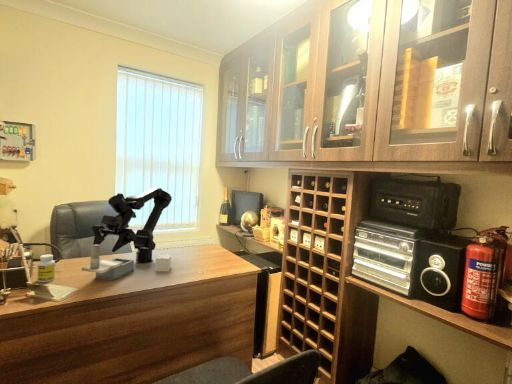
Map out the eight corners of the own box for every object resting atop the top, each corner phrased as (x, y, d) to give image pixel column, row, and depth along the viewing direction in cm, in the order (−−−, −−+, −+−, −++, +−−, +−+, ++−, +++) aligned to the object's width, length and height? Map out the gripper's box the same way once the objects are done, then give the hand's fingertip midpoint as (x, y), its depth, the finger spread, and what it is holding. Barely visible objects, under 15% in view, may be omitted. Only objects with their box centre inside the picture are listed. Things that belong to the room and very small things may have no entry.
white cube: (155, 271, 126) (155, 258, 126) (157, 267, 132) (158, 254, 132) (168, 271, 127) (169, 258, 126) (170, 267, 133) (171, 254, 132)
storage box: (116, 268, 126) (116, 257, 126) (133, 271, 124) (133, 260, 124) (95, 277, 114) (95, 265, 114) (114, 280, 113) (114, 268, 112)
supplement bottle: (35, 283, 106) (35, 258, 105) (39, 278, 111) (40, 254, 110) (52, 281, 108) (53, 257, 107) (56, 277, 113) (56, 253, 112)
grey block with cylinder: (105, 261, 119) (105, 238, 119) (123, 264, 117) (124, 240, 117) (81, 270, 107) (82, 245, 107) (101, 273, 105) (102, 247, 105)
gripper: (94, 206, 118) (71, 236, 107) (133, 209, 114) (112, 242, 103) (107, 221, 126) (87, 251, 115) (144, 225, 122) (126, 257, 111)
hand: (102, 250), depth 111 cm, fingers open, 9 cm apart
